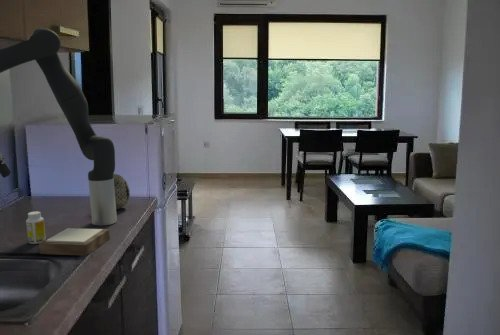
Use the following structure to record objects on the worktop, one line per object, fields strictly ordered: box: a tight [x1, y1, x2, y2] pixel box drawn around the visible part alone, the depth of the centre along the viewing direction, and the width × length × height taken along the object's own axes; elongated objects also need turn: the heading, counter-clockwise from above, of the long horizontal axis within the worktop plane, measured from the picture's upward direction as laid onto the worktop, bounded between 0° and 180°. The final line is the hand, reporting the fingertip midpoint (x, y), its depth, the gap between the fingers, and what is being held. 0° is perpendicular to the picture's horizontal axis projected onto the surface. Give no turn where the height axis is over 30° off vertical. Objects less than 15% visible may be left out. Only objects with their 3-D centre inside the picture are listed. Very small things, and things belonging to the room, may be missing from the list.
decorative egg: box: [113, 173, 131, 210], centre depth 206 cm, size 12×12×15 cm
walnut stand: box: [38, 227, 111, 256], centre depth 161 cm, size 16×16×4 cm
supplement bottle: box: [25, 210, 47, 245], centre depth 166 cm, size 6×6×10 cm
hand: (7, 175), depth 155 cm, fingers open, 8 cm apart
